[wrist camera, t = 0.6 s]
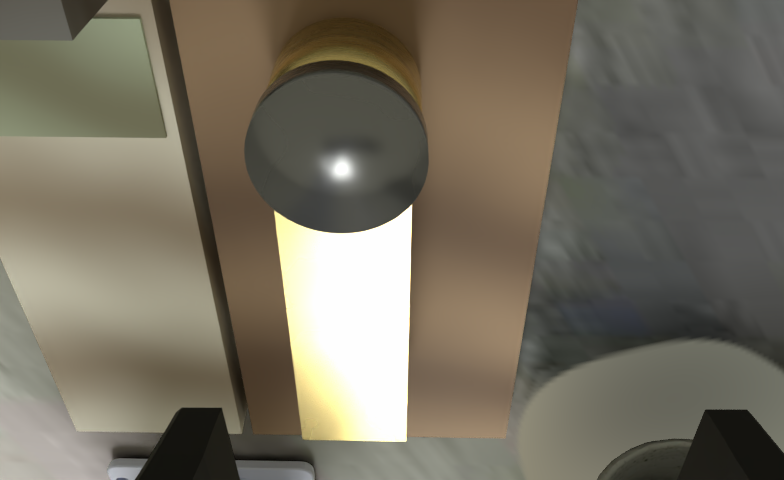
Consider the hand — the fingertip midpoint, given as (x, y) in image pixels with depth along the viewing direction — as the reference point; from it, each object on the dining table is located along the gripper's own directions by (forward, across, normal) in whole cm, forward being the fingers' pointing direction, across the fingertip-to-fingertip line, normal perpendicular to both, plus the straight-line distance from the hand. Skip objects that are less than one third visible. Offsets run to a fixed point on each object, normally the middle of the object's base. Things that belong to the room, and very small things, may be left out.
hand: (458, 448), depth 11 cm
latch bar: (+8, +2, +2) cm, 9 cm away
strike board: (+10, +5, +3) cm, 11 cm away
